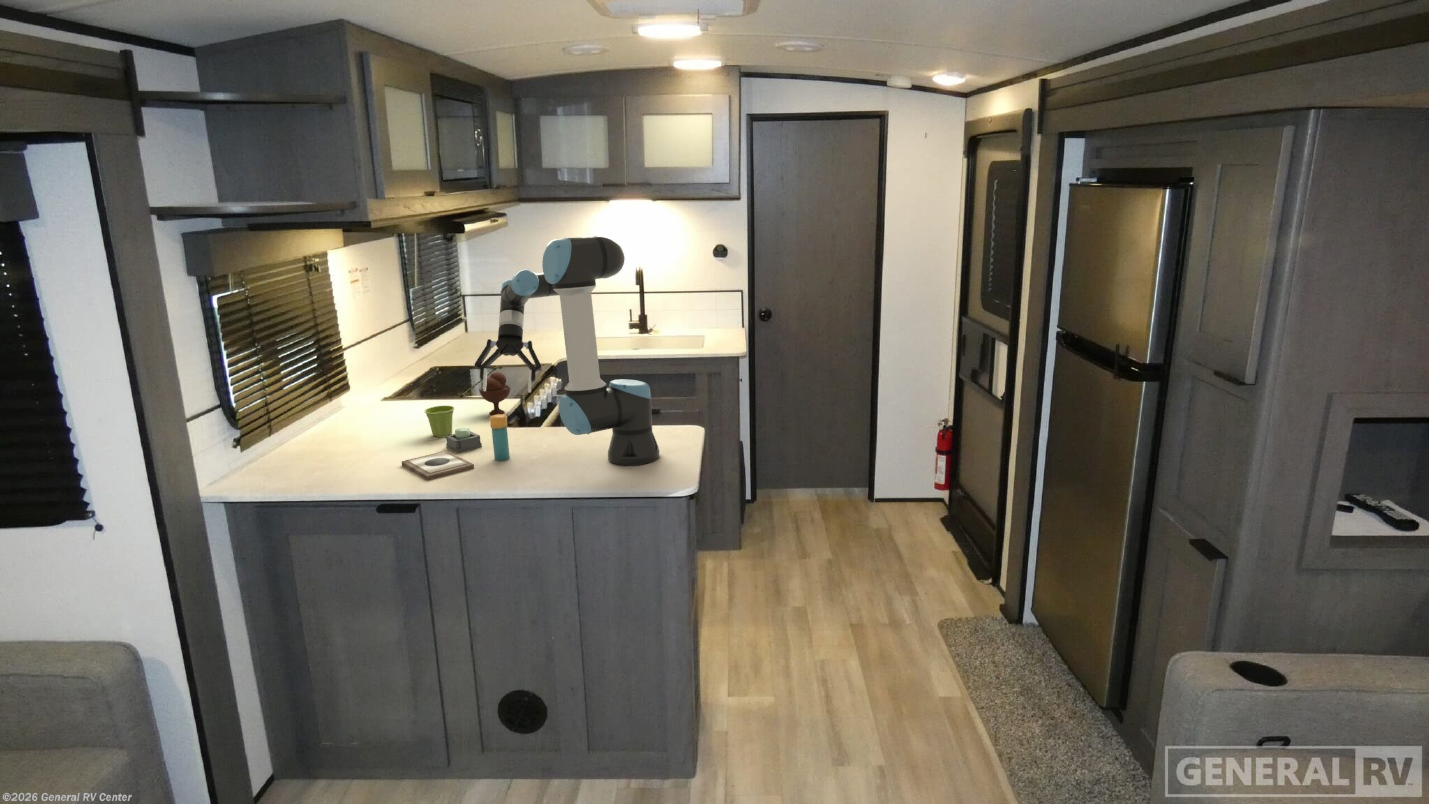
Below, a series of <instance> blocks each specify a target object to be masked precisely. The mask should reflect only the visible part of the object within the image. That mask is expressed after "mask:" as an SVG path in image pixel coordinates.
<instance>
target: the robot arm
mask: <svg viewBox="0 0 1429 804" xmlns="http://www.w3.org/2000/svg"><path fill="white" fill-rule="evenodd" d="M625 259H626V258H625V252H624V250H623V248H622V247H621V245H620V244H619V242H617V241H615V240H614V239H612V238H611V237H609V236H604V235H603V236H602V235H594V236H582V237H564V238H557V239H552V240H550V241H549V242H548V243H547V245H546V247H545V249H544V251H543V254H542V262H541V263H542V267H541V268H542V272H540V273H539V272H538V273H536V272H534V271H531V270H530V269H522V270H519V271H518V272H517V273H516V274H515V275H514V276H513V277H512V278H511V279H507V280H505V281H504V282H502V284H501V290H500V303H499V304H500V306H499V318H498V319H499V320H498V326H499V327H498V330H497V332H498V333H497V334H498V335H497V340H492V339H487V341H486V346H485V347H484V348H483V350H482V351H481V353H480V354H479V356H478V358H477V360H476V361H475V363H474V367H475V369H476V370H479V380H480V381H482V382H483V391H486V385H487V378H488V368H489V367H490V366H491V365H492V364H494V362H495V361H497V359H498V358H500V357H501V356H502V355H503V356H505V357H506V356H511V357H515V356H518V358H519V359H521V361H523V363H524V364H525V366H527V368H528V379H527V380H528V382H527V383H528V384H527V391H528V393H532V384H533V382H536V374H537V372H539V371H540V372H541V371H543V370H542V369H543V368H542V365H541V362H540V360H539V359H538V355H536V351H535V350H534V348H533V341H532V340H529V341H526V342H524V341H523V334H524V329H523V328H524V318H525V315H524V314H525V304H526V303H527V302H528V301H529V300H530V299H536V298H546V297H552V296H553V297H554V296H559V299H560V300H559V301H560V310H561V311H560V312H561V318H562V319H561V320H562V328H563V335H564V336H563V338H564V344H565V354H566V363H567V365H566V366H567V373H568V383H566V385H565V387H564V394H563V395H562V396H560V397H559V399H558V405H557V406H558V412H559V416H560V419H561V421H562V424H563V425H564V427H565V428H566V430H567V431H568V432H570V434H572V435H576V436H580V435H591V434H592V433H597V432H602V431H606V430H610V429H611V430H612V431H611V432H612V435H611V439H610V442H609V446H608V450H607V459H608V461H609V462H610V463H612V464H614V465H618V466H619V465H621V466H640V465H646V464H649V463H650V464H651V463H653V462H655V461H657V460H658V459H659V458H660V448H659V445H658V443H657V440H656V437H655V435H654V432H653V422H652V421H653V416H652V395H651V387H650V385H649V384H648V383H646V382H644V381H641V380H636V379H623V378H621V379H612V380H611V381H609V384H608V387H607V383H606V382H605V381H604V380H602V378H601V375H600V366H599V365H600V364H599V356H598V345H597V335H596V328H595V317H594V316H595V315H594V308H593V307H594V306H593V299H592V297H593V296H592V292H593V291H594V290H595V289H596V287H597V283H596V280H597V279H598V280H600V279H608V278H611V277H614V276H616V275H617V274H618V273H620V272H621V270H622V269H623V267H624V265H625ZM495 346H496V349H495V351H494V352H493V353H492V354H491V355H490V356H489V357H488V355H489V353H490V352H491V350H492V349H493V348H494V347H495ZM523 348H525V349H526V350H528V353H529V354H530V356H531V358H532V360H533V362H534V364H533V363H532V362H531V361H530V360H529V358H528V357H527V356H526V354H525V353H524V352H523V351H522V349H523ZM487 357H488V358H487ZM486 358H487V359H486Z"/></svg>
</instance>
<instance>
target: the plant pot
mask: <svg viewBox="0 0 1429 804" xmlns="http://www.w3.org/2000/svg"><path fill="white" fill-rule="evenodd" d="M454 410H455V406H453V405H437V406H432V407H428V408H426V409H425V410H424V413H425V414H426V417H427V419H428V422H429V426H430V429H431V433H432V436H433V437H437V438H443V437H446V436H449V435H452V434H453V414H454Z"/></svg>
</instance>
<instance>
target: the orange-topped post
mask: <svg viewBox="0 0 1429 804" xmlns="http://www.w3.org/2000/svg"><path fill="white" fill-rule="evenodd" d="M489 424H490V425H489V426H490V428H491V437H492V447H493V455H494V458H493V459H494V461H498V462H503V461H507V460H510V457H511V456H510V446H509V445H510V444H509V436H508V417H507V415H506V414H498V415H493V416H492V415H489Z"/></svg>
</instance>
